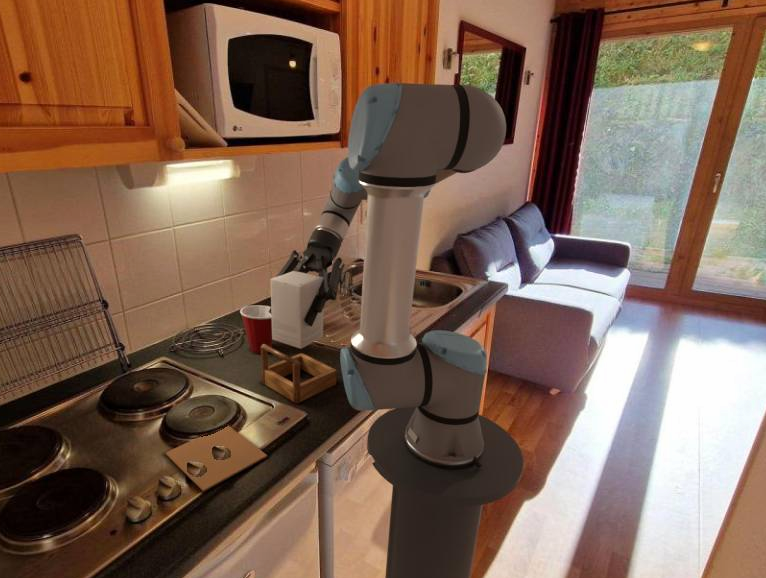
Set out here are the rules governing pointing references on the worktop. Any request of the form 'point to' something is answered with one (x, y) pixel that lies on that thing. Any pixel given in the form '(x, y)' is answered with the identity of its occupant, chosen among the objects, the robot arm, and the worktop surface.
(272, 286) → the rectangular carton
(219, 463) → the mat
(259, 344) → the plastic cup
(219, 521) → the worktop surface
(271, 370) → the open wooden box
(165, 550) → the worktop surface
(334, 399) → the worktop surface
